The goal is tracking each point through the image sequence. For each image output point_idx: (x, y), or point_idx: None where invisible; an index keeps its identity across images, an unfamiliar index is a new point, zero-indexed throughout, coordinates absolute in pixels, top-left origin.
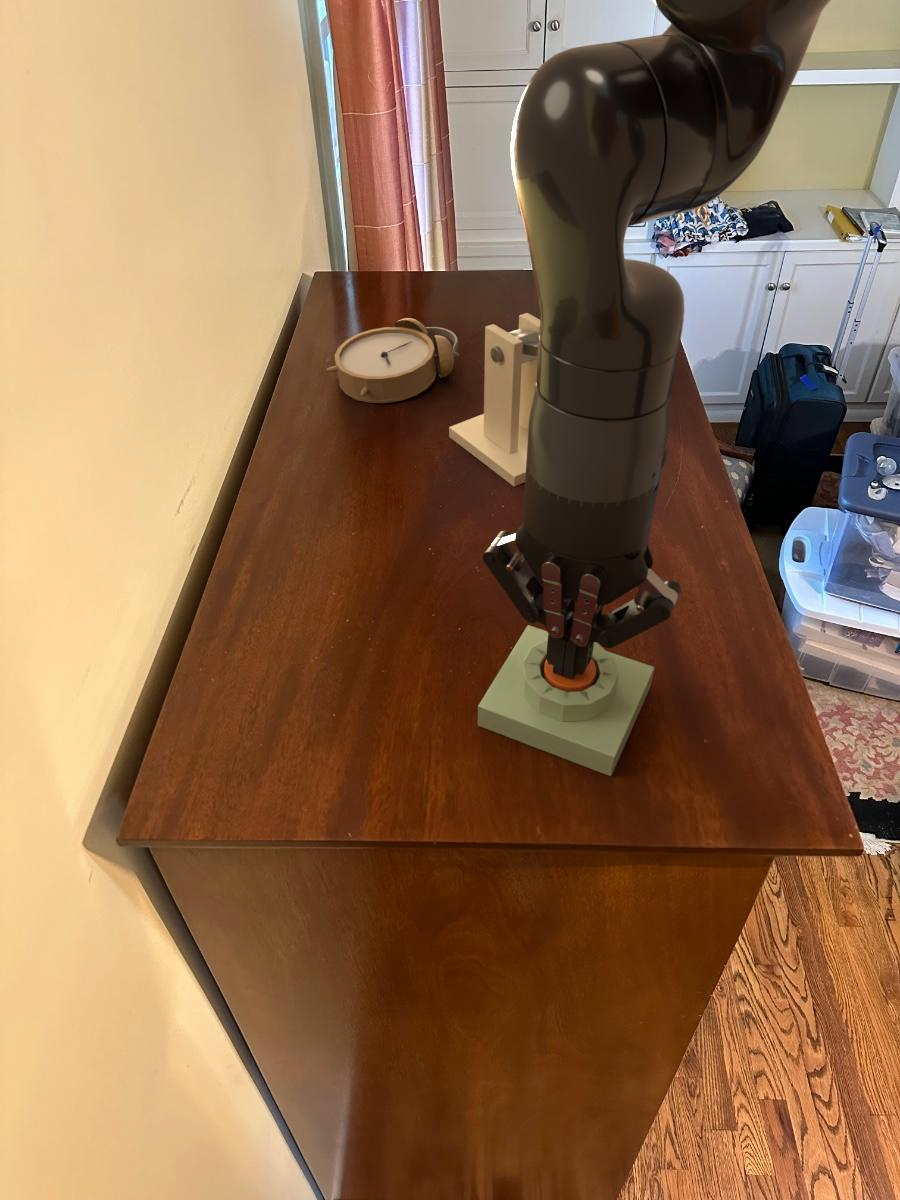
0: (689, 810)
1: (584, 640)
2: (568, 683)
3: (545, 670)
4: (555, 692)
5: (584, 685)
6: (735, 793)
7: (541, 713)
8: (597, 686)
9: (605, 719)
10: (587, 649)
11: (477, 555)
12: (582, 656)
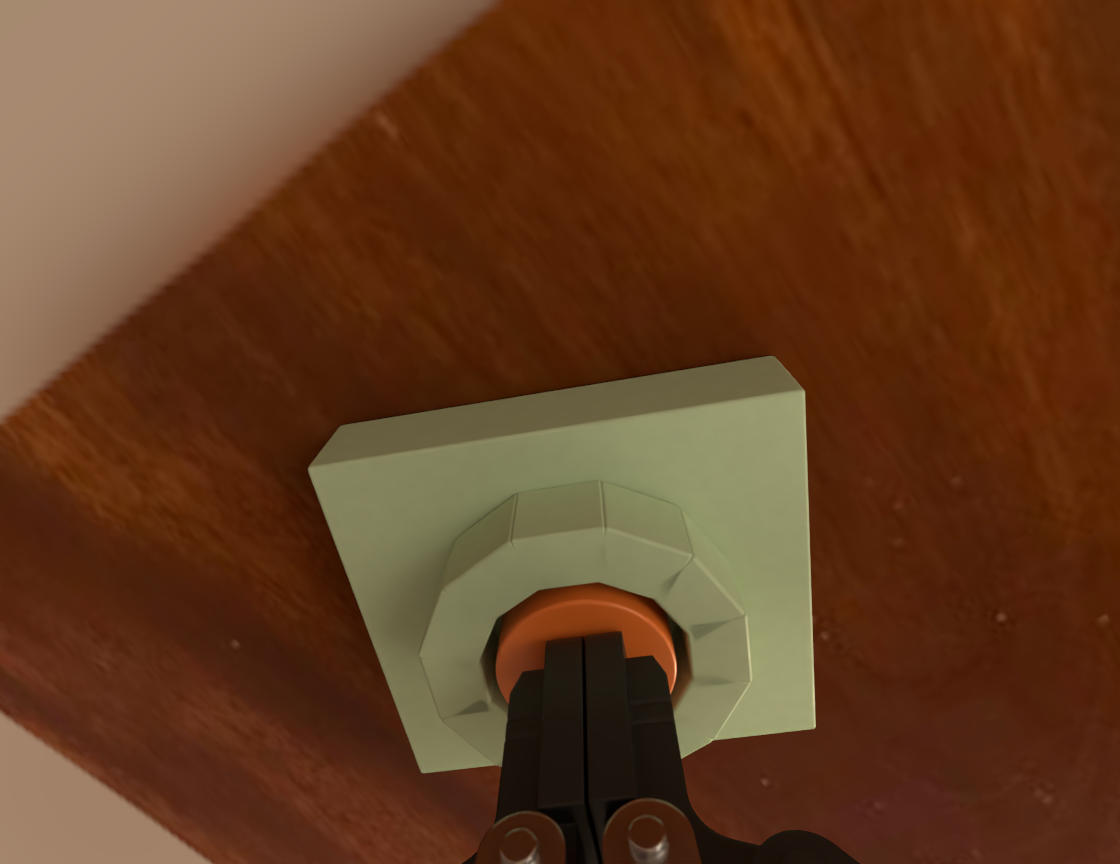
0: (119, 450)
1: (493, 859)
2: (552, 621)
3: (653, 625)
4: (571, 568)
5: (503, 640)
6: (78, 555)
7: (593, 482)
8: (466, 657)
9: (417, 568)
10: (498, 800)
11: (1063, 829)
12: (521, 752)
